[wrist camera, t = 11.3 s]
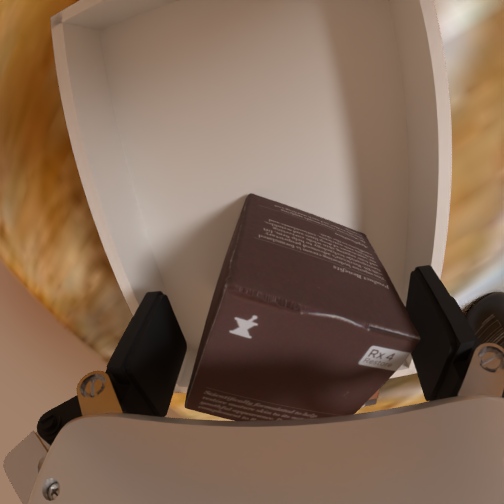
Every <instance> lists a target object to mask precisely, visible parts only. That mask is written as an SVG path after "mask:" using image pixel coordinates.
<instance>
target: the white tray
mask: <svg viewBox="0 0 504 504" xmlns="http://www.w3.org/2000/svg"><path fill="white" fill-rule="evenodd" d="M51 31H52V41H53V50H54V58H55V65H56V72H57V78H58V84H59V90H60V95H61V101H62V106H63V111H64V115H65V120H66V125H67V129H68V133H69V137H70V142H71V146H72V149H73V153H74V157H75V161H76V164H77V168H78V172H79V175H80V178H81V182H82V185H83V188H84V192H85V195H86V198H87V201H88V204H89V207H90V210H91V213H92V216H93V219H94V222H95V225H96V228H97V231H98V233H99V236H100V239H101V241H102V244H103V247H104V249H105V252H106V255H107V257H108V260H109V262H110V265H111V267H112V270H113V272H114V275H115V277H116V279H117V282H118V284H119V286H120V289H121V291H122V293H123V296H124V298H125V300H126V302H127V304H128V307H129V309H130V311H131V313H132V315H133V316H134V314H135V312H136V310H137V309H138V307H139V305H140V303H141V301H142V300H143V298H144V296H145V294H146V293H147V292H154V291H161V292H162V293H163V294H165V295H167V296H168V299H169V301H170V304H171V306H172V309H173V311H174V314H175V316H176V319H177V321H178V323H179V326H180V328H181V331H182V333H183V335H184V338H185V340H186V343H187V351H186V354H185V357H184V360H183V364H182V367H181V370H180V373H179V376H178V379H177V382H176V386H175V389H174V392H176V393H187V389H188V386H189V383H190V378H191V375H192V371H193V367H194V363H195V360H196V356H197V352H198V348H199V345H200V341H201V337H202V334H203V330H204V326H205V322H206V319H207V315H208V312H209V308H210V305H211V301H212V298H213V294H214V291H215V288H216V284H217V281H218V278H219V275H220V271H221V268H222V265H223V262H224V259H225V256H226V253H227V250H228V247H229V244H230V241H231V239H232V236H233V233H234V230H235V227H236V224H237V222H238V219H239V216H240V213H241V210H242V208H243V205H244V202H245V199H246V197H247V196H248V194H250V193H252V194H255V195H258V196H261V197H264V198H267V199H270V200H273V201H277V202H279V203H282V204H285V205H288V206H291V207H294V208H297V209H300V210H302V211H305V212H308V213H311V214H314V215H316V216H319V217H322V218H324V219H327V220H330V221H332V222H335V223H337V224H340V225H343V226H345V227H348V228H351V229H353V230H356V231H358V232H361V233H363V234H365V235H366V237H367V238H368V240H369V242H370V244H371V245H372V247H373V249H374V251H375V253H376V254H377V256H378V258H379V260H380V261H381V263H382V265H383V266H384V268H385V270H386V272H387V274H388V276H389V277H390V280H391V281H392V283H393V285H394V287H395V289H396V291H397V293H398V295H399V297H400V298H401V300H402V302H403V304H404V306H405V307H406V301H407V295H408V288H409V281H410V274H411V272H412V271H414V270H415V268H416V267H418V266H426V265H430V266H431V267H432V268H433V270H434V271H435V273H436V274H437V276H438V277H439V279H441V273H442V267H443V261H444V254H445V247H446V239H447V230H448V221H449V210H450V196H451V174H452V132H451V111H450V97H449V87H448V78H447V70H446V62H445V56H444V49H443V44H442V38H441V33H440V28H439V23H438V19H437V14H436V10H435V6H434V2H433V0H80V1H78V2H76V3H74V4H72V5H71V6H69V7H67V8H65V9H64V10H62V11H60V12H59V13H57V14H55V15H54V16H52V17H51ZM415 373H417V371H416V368H415V365H414V362H413V359H412V356H411V354H410V355H409V356H408V358H407V359H406V360H405V361H404V363H403V364H402V365H401V366H400V367H399V368H398V370H397V371H396V372H395V373H394V374H393V375H392V376H391V377H390V378H395V377H400V376H405V375H410V374H415ZM390 378H389V379H390Z"/></svg>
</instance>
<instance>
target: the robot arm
mask: <svg viewBox="0 0 504 504" xmlns="http://www.w3.org/2000/svg"><path fill="white" fill-rule="evenodd" d="M405 308H406V310H407V312H408V314H409V317H410V319H411V321H412V323H413V325H414V326H415V328H416V330H417V332H418V334H419V335H420V338H421V339H420V341H419V343H418V344H417V345H416V347H415V348H414V350H413V351H412V352H411V356H412V359H413V362H414V365H415V368H416V371H417V374H418V377H419V380H420V384H421V387H422V390H423V393H424V397H425V399H426V401H429V402H424V403H420V404H415V405H409V406H404V407H398V408H392V409H387V410H381V411H375V412H368V413H361V414H353V415H345V416H336V417H326V418H315V419H301V420H281V421H214V420H195V419H181V418H169V417H165V416H166V414H167V411H168V408H169V405H170V402H171V398H172V395H173V392H174V389H175V386H176V382H177V379H178V376H179V373H180V370H181V367H182V364H183V360H184V357H185V354H186V351H187V343H186V340H185V338H184V335H183V333H182V331H181V328H180V326H179V323H178V321H177V319H176V316H175V314H174V311H173V309H172V306H171V304H170V301H169V299H168V296H167V295H165V294H163V293H162V292H161V291H154V292H147V293H146V294H145V296H144V298H143V300H142V301H141V303H140V305H139V307H138V309H137V310H136V312H135V314H134V316H133V318H132V319H131V321H130V323H129V325H128V327H127V329H126V330H125V332H124V334H123V336H122V338H121V340H120V342H119V343H118V345H117V347H116V349H115V351H114V353H113V355H112V357H111V359H110V361H109V363H108V365H107V370H106V372H103V371H93V372H91V373H88V374H87V375H85V376H84V377H83V378H82V379H81V380H80V382H79V383H78V386H77V396H75V397H73V398H71V399H70V400H68V401H66V402H64V403H62V404H61V405H59V406H57V407H55V408H53V409H51V410H49V411H48V412H46V413H45V414H43V416H42V417H41V418H40V419H39V421H38V424H37V432H36V433H35V432H34V431H32V432H31V433H30V434H29V435H28V436H27V437H26V438H25V439H24V440H22V441H21V442H20V443H19V444H18V445H17V446H16V447H15V448H14V449H13V450H12V451H11V452H9V453H8V455H7V456H6V457H5V460H4V469H5V472H6V474H7V476H8V478H9V480H10V482H11V484H12V486H13V488H14V489H15V491H16V493H17V494H18V496H19V498H20V500H21V501H22V503H23V504H504V349H503V348H502V347H501V346H499V345H497V344H494V343H484V344H480V342H479V340H478V339H477V337H476V335H475V333H474V331H473V329H472V328H471V326H470V324H469V322H468V321H467V319H466V317H465V315H464V314H463V312H462V310H461V309H460V307H459V305H458V304H457V302H456V300H455V299H454V298H453V297H451V296H450V295H449V293H448V291H447V290H446V288H445V287H444V285H443V283H442V282H441V280H440V279H439V277H438V276H437V274H436V273H435V271H434V270H433V268H432V267H431V266H430V265H426V266H418V267H416V268H415V270H414V271H412V272H411V274H410V281H409V288H408V295H407V301H406V307H405Z"/></svg>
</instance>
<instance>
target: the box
mask: <svg viewBox="0 0 504 504" xmlns="http://www.w3.org/2000/svg"><path fill="white" fill-rule="evenodd" d="M420 339H421V338H420V335H419V334H418V332H417V330H416V328H415V326H414V325H413V323H412V321H411V319H410V317H409V314H408V312H407V310H406V308H405V306H404V304H403V302H402V300H401V298H400V297H399V295H398V293H397V291H396V289H395V287H394V285H393V283H392V281H391V280H390V277H389V276H388V274H387V272H386V270H385V268H384V266H383V265H382V263H381V261H380V260H379V258H378V256H377V254H376V253H375V251H374V249H373V247H372V245H371V244H370V242H369V240H368V238H367V237H366V235H365V234H363V233H361V232H358V231H356V230H353V229H351V228H348V227H345V226H343V225H340V224H337V223H335V222H332V221H330V220H327V219H324V218H322V217H319V216H316V215H314V214H311V213H308V212H305V211H302V210H300V209H297V208H294V207H291V206H288V205H285V204H282V203H279V202H277V201H273V200H270V199H267V198H264V197H261V196H258V195H255V194H252V193H250V194H248V196H247V197H246V199H245V202H244V205H243V208H242V210H241V213H240V216H239V219H238V222H237V224H236V227H235V230H234V233H233V236H232V239H231V241H230V244H229V247H228V250H227V253H226V256H225V259H224V262H223V265H222V268H221V271H220V275H219V278H218V281H217V284H216V288H215V291H214V294H213V298H212V301H211V305H210V308H209V312H208V315H207V319H206V322H205V326H204V330H203V334H202V337H201V341H200V345H199V348H198V352H197V356H196V360H195V363H194V367H193V371H192V375H191V378H190V383H189V386H188V389H187V395H186V401H185V408H187V409H191V410H195V411H198V412H202V413H206V414H210V415H214V416H218V417H222V418H226V419H230V420H234V421H281V420H301V419H315V418H326V417H336V416H345V415H353V414H355V413H356V412H357V411H358V410H359V409H360V408H361V407H362V406H363V405H364V404H365V403H366V402H367V401H368V400H369V399H370V398H371V397H372V396H373V395H374V394H375V393H376V392H377V391H378V390H379V389H380V388H381V387H382V386H383V385H384V384H385V383H386V381H387V380H388V379H389V378H390V377H391V376H392V375H393V374H394V373H395V372H396V371H397V370H398V368H399V367H400V366H401V365H402V364H403V363H404V361H405V360H406V359H407V358H408V356H409V355H410V354H411V352H412V351H413V350H414V348H415V347H416V345H417V344H418V343H419V341H420Z"/></svg>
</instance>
